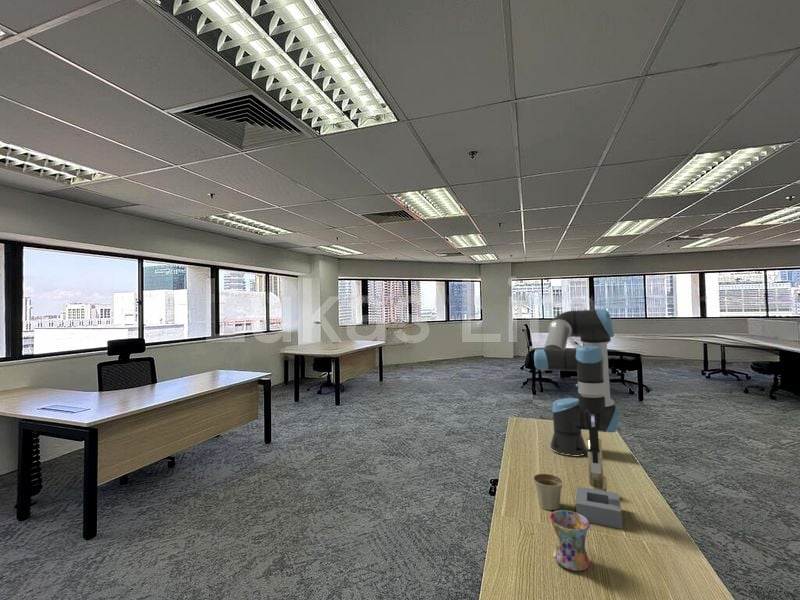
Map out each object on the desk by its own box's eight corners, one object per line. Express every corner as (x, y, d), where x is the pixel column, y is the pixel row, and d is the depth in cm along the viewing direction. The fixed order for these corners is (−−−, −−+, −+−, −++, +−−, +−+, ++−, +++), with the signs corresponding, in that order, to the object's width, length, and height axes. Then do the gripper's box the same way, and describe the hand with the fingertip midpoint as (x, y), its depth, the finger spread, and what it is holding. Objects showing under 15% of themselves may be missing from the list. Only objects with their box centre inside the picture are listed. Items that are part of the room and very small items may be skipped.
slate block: (577, 501, 122) (577, 486, 122) (619, 509, 116) (618, 493, 117) (576, 519, 111) (575, 503, 112) (622, 529, 106) (621, 511, 106)
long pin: (589, 481, 117) (586, 437, 118) (603, 483, 115) (601, 438, 116) (589, 486, 113) (586, 441, 114) (604, 488, 111) (601, 442, 112)
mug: (596, 577, 87) (593, 532, 88) (555, 572, 89) (552, 528, 90) (584, 546, 99) (581, 506, 99) (547, 542, 101) (545, 503, 101)
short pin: (594, 491, 128) (593, 474, 129) (607, 493, 127) (606, 476, 127) (594, 496, 125) (593, 478, 125) (607, 498, 123) (606, 480, 123)
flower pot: (563, 500, 123) (562, 474, 123) (566, 515, 114) (564, 487, 114) (533, 497, 126) (532, 472, 126) (534, 511, 117) (533, 484, 117)
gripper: (578, 389, 125) (583, 458, 124) (577, 399, 110) (582, 478, 109) (603, 390, 121) (608, 461, 120) (606, 401, 106) (611, 483, 105)
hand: (595, 469), depth 114 cm, fingers closed on long pin, 4 cm apart
